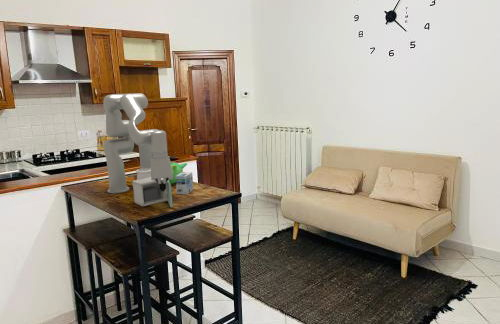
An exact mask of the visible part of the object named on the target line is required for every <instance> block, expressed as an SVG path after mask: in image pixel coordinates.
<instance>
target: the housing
mask: <svg viewBox="0 0 500 324" xmlns="http://www.w3.org/2000/svg"><path fill="white" fill-rule="evenodd" d="M163 180H164V178H161V181H162V183H163ZM132 189H133V192H132V193H133V201H134V203H135V204H137V205H139V206H140V207H146V206H150V205H155V204H158V203H163V202H166V201H167V190H166V189H165V191H162V192H161V190H160V186H159V183H158V182H157V181H153V180H151V177H150V178H145V179H139V180H137V179H136V180H132ZM167 202H168V201H167Z"/></svg>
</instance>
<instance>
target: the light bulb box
mask: <svg viewBox="0 0 500 324" xmlns="http://www.w3.org/2000/svg"><path fill="white" fill-rule="evenodd" d="M175 178H176V183H175V186H176V187H175V188H176V195H188V194H190V193H191V192H192V191H194V178H193V171H191V172H190V171H183V172H181V173H180V174H178V175H177V176H175Z"/></svg>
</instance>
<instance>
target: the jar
mask: <svg viewBox="0 0 500 324" xmlns="http://www.w3.org/2000/svg"><path fill="white" fill-rule="evenodd" d="M136 173H137V175H136V180H139V179H145V178H150V177H151V168H141V167H140V168H138V169H136Z"/></svg>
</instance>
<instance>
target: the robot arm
mask: <svg viewBox="0 0 500 324" xmlns="http://www.w3.org/2000/svg"><path fill="white" fill-rule="evenodd" d="M102 102H103V108H104V112H105V132H106V136H107V137H109V139H107V140H105V141H104V142H103V144H102V149H103V152H104V155H105V160H106V167H107V168H106V169H107V175H108V184H109V188H108V189H107V191H106V192H107V193H108V194H121V193H125V192H128V191H130V186H127V181H126V179H127V178H126V173H125V172H126V171H125V163H124V160H123V157H121V156H120V155H122V154H123V155H124V154H128V153H131V152H133V151H134V147H135V145H137V146H138V145H139V146H143V145H149V144H151V147H152V153H151V154H149V156H151V157H152V159H151V180H153V181H157V182H158V183H159V186H160V190H161V192H162V191H165V189H166V182H167V181H168V180H170V179H173V176H172V168H171V162H172V161H171V159H170V158H171V157H170V156H169V155H168V141H167V133H166V131H165V130H163V129H161V130H160V129H158V128H157V129H156V128H152V129H142V130H139V129H138V127H137V125H140V123H142V122H143V121H144V120H145V119H146V114H147V113H146V112H145V111H144V110H145V109H146V108H147V107H148V105H149V99H148V98H147V97H146V95H145V94H143V93H142V92H141V93H140V92H139V93H137V92H136V93H135V92H134V93H114V94H113V93H112V94H108V95H105V96H104V98H103V101H102ZM120 110H123V111H124V113H125V114H126V116H127V117H128V119H122V117H123V116H122V112H121V111H120ZM139 146H138V147H139ZM161 178H164V180H163V183H162V181H161Z"/></svg>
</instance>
